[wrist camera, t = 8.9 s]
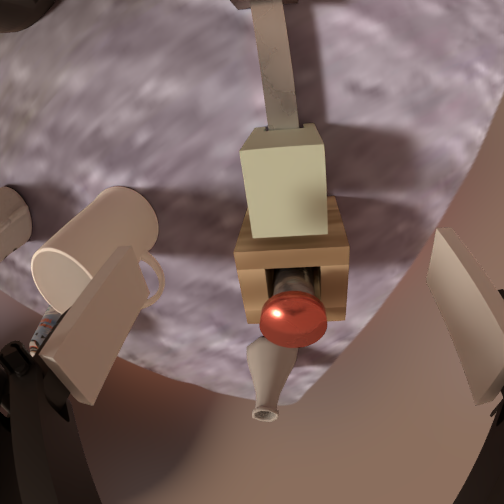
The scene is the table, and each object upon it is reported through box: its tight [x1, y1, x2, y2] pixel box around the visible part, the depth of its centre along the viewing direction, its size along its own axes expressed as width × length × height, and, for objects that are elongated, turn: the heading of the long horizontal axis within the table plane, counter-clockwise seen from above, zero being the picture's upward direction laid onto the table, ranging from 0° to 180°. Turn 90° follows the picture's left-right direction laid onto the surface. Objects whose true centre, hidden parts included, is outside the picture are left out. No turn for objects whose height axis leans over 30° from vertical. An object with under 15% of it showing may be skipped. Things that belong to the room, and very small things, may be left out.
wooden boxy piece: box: [233, 196, 350, 324], centre depth 26 cm, size 7×8×9 cm
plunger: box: [260, 267, 327, 348], centre depth 22 cm, size 4×4×7 cm
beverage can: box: [30, 305, 62, 357], centre depth 36 cm, size 6×7×12 cm
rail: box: [230, 0, 299, 131], centre depth 22 cm, size 19×5×4 cm, turn 8°
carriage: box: [239, 123, 328, 238], centre depth 22 cm, size 6×5×8 cm
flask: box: [247, 337, 298, 422], centre depth 36 cm, size 7×7×10 cm
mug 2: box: [31, 186, 165, 314], centre depth 27 cm, size 12×8×12 cm
